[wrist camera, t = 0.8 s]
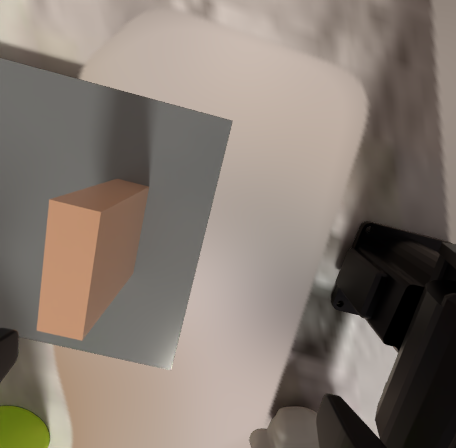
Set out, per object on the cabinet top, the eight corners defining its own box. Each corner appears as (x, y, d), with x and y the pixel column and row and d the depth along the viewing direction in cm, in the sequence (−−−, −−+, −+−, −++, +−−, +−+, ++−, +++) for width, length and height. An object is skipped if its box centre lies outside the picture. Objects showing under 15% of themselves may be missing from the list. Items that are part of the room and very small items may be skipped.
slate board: (232, 121, 18) (232, 120, 17) (173, 362, 23) (170, 370, 22) (-36, 49, 17) (-49, 44, 16) (-41, 315, 22) (-51, 321, 21)
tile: (149, 186, 18) (101, 212, 11) (133, 273, 20) (82, 340, 13) (114, 178, 18) (45, 198, 11) (101, 265, 20) (33, 329, 13)
